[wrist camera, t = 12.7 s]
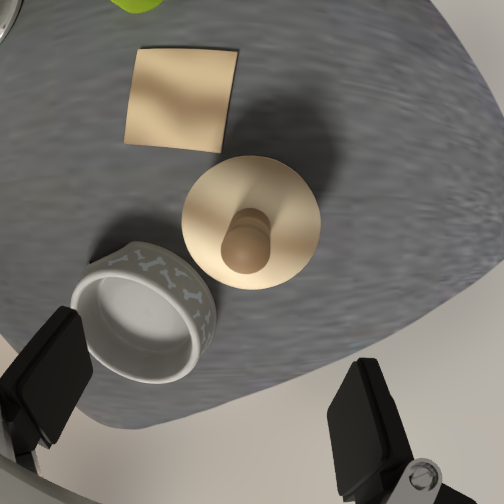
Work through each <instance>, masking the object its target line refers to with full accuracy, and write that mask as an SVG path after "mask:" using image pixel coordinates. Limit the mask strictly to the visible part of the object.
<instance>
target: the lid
mask: <svg viewBox="0 0 504 504" xmlns="http://www.w3.org/2000/svg"><path fill="white" fill-rule="evenodd" d="M320 228H321V220H320V212H319V208H318V204H317V202H316V199H315V197H314V195H313V193H312V191H311V190H310V188H309V186H308V185H307V184H306V182H305V181H304V180H303V179H302V178H301V177H300V176H299V175H298V174H297V173H296V172H295V171H294V170H292V169H291V168H290V167H288V166H287V165H285V164H283V163H281V162H279V161H276V160H274V159H271V158H267V157H263V156H240V157H234V158H231V159H228V160H225V161H223V162H221V163H219V164H217V165H215V166H214V167H212V168H211V169H209V170H208V171H207V172H205V173H204V174H203V175H202V176H201V177H200V178H199V179H198V180H197V181H196V183H195V184H194V185H193V187H192V188H191V190H190V191H189V194H188V196H187V198H186V200H185V204H184V207H183V213H182V232H183V236H184V240H185V243H186V246H187V248H188V251H189V252H190V254H191V256H192V258H193V259H194V260H195V262H196V263H197V264H198V265H199V266H200V267H201V268H202V270H204V271H205V272H206V273H207V274H208V275H210V276H211V277H213V278H214V279H216V280H218V281H220V282H222V283H224V284H226V285H229V286H232V287H236V288H241V289H263V288H268V287H273V286H276V285H278V284H281V283H283V282H285V281H287V280H289V279H290V278H292V277H293V276H295V275H296V274H297V273H298V272H299V271H301V270H302V269H303V268H304V266H305V265H306V264H307V263H308V262H309V260H310V259H311V257H312V255H313V253H314V251H315V249H316V247H317V244H318V241H319V236H320Z"/></svg>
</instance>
